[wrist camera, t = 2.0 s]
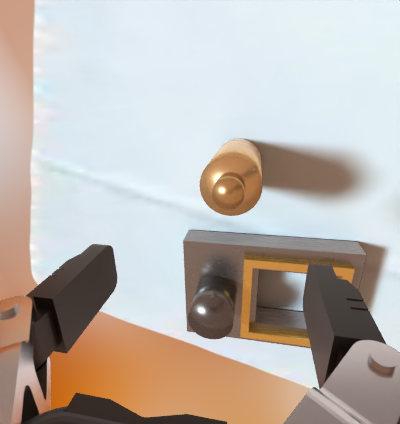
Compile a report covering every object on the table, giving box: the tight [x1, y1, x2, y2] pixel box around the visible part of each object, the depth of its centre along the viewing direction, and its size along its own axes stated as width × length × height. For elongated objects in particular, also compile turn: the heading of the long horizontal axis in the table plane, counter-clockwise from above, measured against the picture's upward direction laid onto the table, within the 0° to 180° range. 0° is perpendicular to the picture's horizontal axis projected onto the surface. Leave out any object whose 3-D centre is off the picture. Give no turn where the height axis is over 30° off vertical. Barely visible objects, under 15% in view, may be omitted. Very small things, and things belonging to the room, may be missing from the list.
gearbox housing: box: [183, 230, 367, 348], centre depth 33 cm, size 20×14×8 cm
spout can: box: [200, 139, 262, 216], centre depth 26 cm, size 5×5×12 cm
